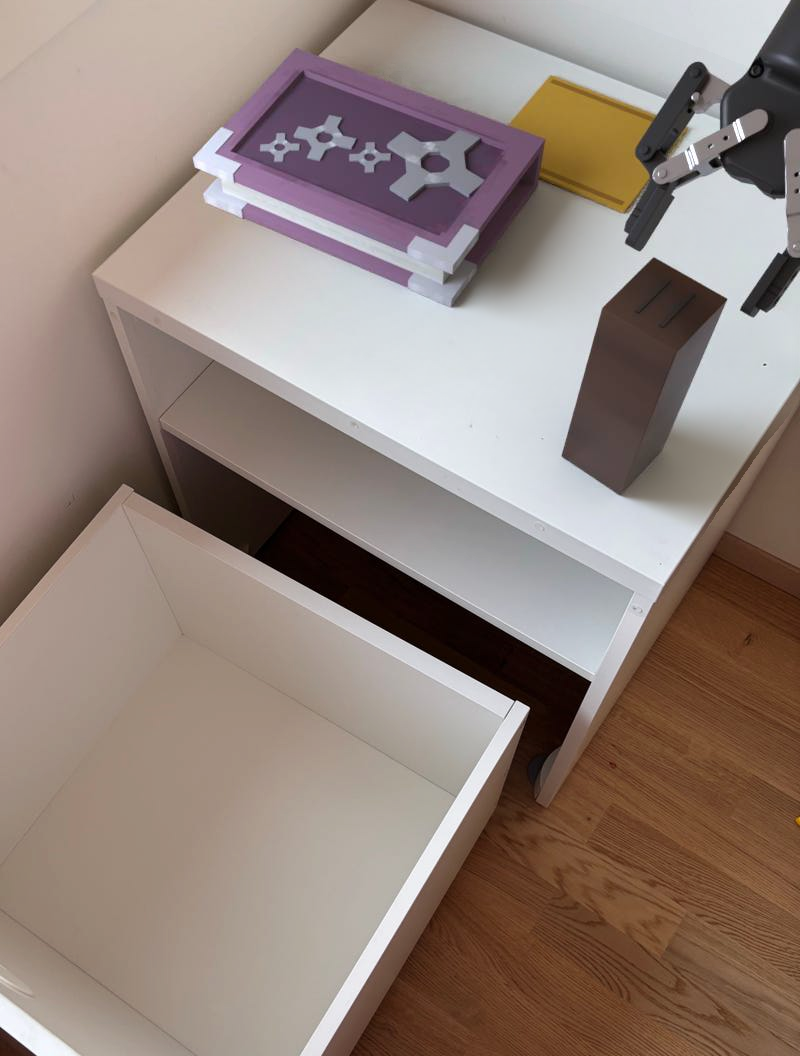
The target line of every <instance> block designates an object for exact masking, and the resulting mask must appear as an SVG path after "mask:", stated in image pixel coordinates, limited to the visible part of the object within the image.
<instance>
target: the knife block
mask: <svg viewBox="0 0 800 1056" xmlns="http://www.w3.org/2000/svg"><path fill="white" fill-rule="evenodd" d="M727 302H728V298H727V297H726V296H724V295H722V294H720V293H718V292H716V291H715V290H713V289H711V288H710V287H708V286H706V285H704V284H703V283H701V282H699V281H697V280H696V279H694V278H692V277H690V276H688V275H687V274H685V273H683V272H681V271H680V270H678V269H676V268H674V267H672V266H671V265H669V264H668V263H665V262H663V261H662V260H660V259H658V258H657V257H654V256H653V257H652V258H651V259H650V260H648V262H647V263H646V264H645V265H644V266H643V267H642V268H641V269H640V270H639V271H638V272H637V273H635V275H634V276H633V277H632V278H631V279H630V280H629V281H628V282H626V284H625V285H624V286H623V287H622V288H621V289H619V291H618V292H617V293H615V295H614V296H613V297H611V298H610V299H609V300H608V301H607V302H606V303H605V305H603V307H601V311H600V314H599V318H598V321H597V325H596V328H595V333H594V336H593V340H592V344H591V347H590V350H589V354H588V358H587V362H586V365H585V369H584V373H583V376H582V379H581V383H580V386H579V389H578V390H579V391H578V393H577V398H576V402H575V405H574V408H573V412H572V416H571V420H570V422H569V423H570V424H569V426H568V431H567V434H566V438H565V441H564V445H563V448H562V452H561V458H563V459H564V460H566V461H567V462H569V463H571V464H572V465H574V466H575V467H577V468H578V469H580V470H581V471H583V472H584V473H585V474H587V475H589V476H590V477H591V478H593V479H594V480H596V481H598V482H599V483H601V484H602V485H604V486H605V487H606V488H608V489H609V490H611V491H613V492H614V493H615V494H617V495H619V496H622V495H623V494H624V492H625V491H626V490H627V489H628V488H629V487H630V486H631V485H632V484H633V483H634V481H635V480H636V479H638V478H639V476H640V475H641V474H642V473H643V472H644V471H645V470H646V469H647V467H648V466H649V465H650V464H651V463H652V462H653V461H654V460H655V459H656V458H657V456H659V454H661V452H662V451H663V450H664V448H665V445H666V443H667V441H668V439H669V436H670V434H671V433H672V430H673V428H674V425H675V422H676V420H677V417H678V415H679V414H680V411H681V408H682V406H683V403H684V402H685V399H686V397H687V395H688V392H689V390H690V387H691V386H692V384H693V383H692V382H693V380H694V379H695V376H696V374H697V371H698V369H699V366H700V365H701V362H702V359H703V357H704V355H705V353H706V350H707V348H708V346H709V343H710V341H711V339H712V336H713V334H714V332H715V330H716V327H717V324H718V323H719V320H720V319H721V315H722V314H723V311H724V309H725V306H726V304H727Z"/></svg>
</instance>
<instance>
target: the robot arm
mask: <svg viewBox="0 0 800 1056" xmlns="http://www.w3.org/2000/svg"><path fill="white" fill-rule="evenodd" d="M716 104H719V130H717V131H715V132H713V133H711V134H709V135H707V136H706V137H703V138H702V139H700V140H698V141H696V142H694V143H692V144H690V146H688V147H687V148H686V150H684V151H683V152H681V153H679V154H677V155H675V156H673V157H671V158H668V156H667V154H668V153H669V151H670V150H671V148H672V147H673V145H674V144H675V142H676V141H677V140H678V138H679V137H680V135H681V134H682V132H683V131H684V129H685V128H686V127H688V125H689V123H690V122H691V120H692V118H693V117H694V116H695V114H696V115H702V114H704V113H706V112H707V111H709V109H710V108H711V107H713V106H714V105H716ZM655 115H656V117H655V118H654V120H653V122H652V123H651V125H650V126H649V128H648V129H647V131H646V132H645V134H644V135H643V137H642V138H641V140H640V141H639V143H638V145H637V146H636V148H635V156H636V158H637V159H638V160H639V161H640V162H641V163H642V164H643V166H644V167H645V168H646V170H647V171H648V173H649V176H650V180H649V181H648V183H647V185H646V188H645V190H644V191H643V193H642V194H641V196H640V197H639V199H638V201H637V202H636V204H635V206H634V208H633V209H632V211H631V213H630V214H629V216H628V218H627V219H626V220H625V223H624V229H623V232H624V233H626V234H627V236H626V238H625V240H624V244H625V246H628V247H630V248H631V249H632V250H635V251H637V252H639V253H640V252H641V251H643V249H644V248H645V247H646V245H647V244H648V242H649V240H650V239H651V237H652V235H653V234H654V232H655V231H656V229H657V227H658V226H659V224H660V223H661V221H662V219H663V218H664V215H665V214H666V213H667V211H668V209H669V208H670V207H671V205H672V203H673V201H674V199H675V198H676V197H675V195H673V193H674V191H676V190H678V189H680V188H682V187H683V186H686V185H687V184H690V183H692V182H694V181H696V180H698V179H699V178H703V177H707V176H710V175H712V174H714V173H716V172H718V171H720V170H722V169H723V170H724V171H725V172H726V174H727V175H728V176H729V177H730V178H732V179H734V180H735V181H738V182H740V183H742V184H747V185H753V186H755V187H756V188H757V189H758V190H759V191H760V192H761V193H762V194H763V195H764V196H765V197H768V198H770V199H771V200H774V201H776V199H778V200H783V199H785V200H784V201H785V216H786V217H785V218H786V248H785V249H784V250H783V251H782V253H780V252H777V253H776V255H775V256H774V257H773V258H772V260H771V262H770V264H769V265H768V266H767V268H766V269H765V271H764V272H763V274H761V276H760V278H759V279H758V281H757V282H756V284H755V285H754V287H753V288H752V290H751V292H750V293H749V294H748V296H747V297H746V298H745V300H744V301H743V303H742V305H741V306H740V307H739V311H740V312H742V313H743V314H745V315H747V316H749V317H751V318H753V319H754V318H755V317H756V316H757V315H758V314H759V312H760V311H762V312H764V313H766V314H767V313H769V312H770V311H771V310H773V309H774V308H775V307H776V306H777V305H778V303H779V302H780V300H781V299H782V297H783V296H784V294H785V293H786V291H787V290H788V288H789V287H790V286H791V284H792V283H793V282H794V280H795V278H796V277H797V276H798V274H799V273H800V0H789V2H788V4H787V5H786V7H785V9H784V10H783V11H782V13H781V15H780V17H779V18H778V20H777V21H776V23H775V25H774V27H773V28H772V29H771V31H770V33H769V35H768V36H767V38H766V39H765V41H764V43H763V44H762V46H761V48H760V49H759V51H758V53H757V54H756V55H755V57H754V59H753V61H752V63H751V64H750V66H749V67H748V69H747V71H746V72H745V74H743V75H742V76H741V77H740V78H739V79H738V80H737V81H736V82H734V83H733V84H730V83H728V82H727V81H724V80H723V79H721V78H720V77H718V76H716V75H715V74H713V73H711V72H710V70H709V69H708V68H707V66H706V65H705V64H704V62H702V61H694V62H692V63H690V64H689V65H688V66H687V68H686V70H685V71H684V72H683V74H682V76H681V77H680V79H679V80H678V82H677V83H676V85H675V86H674V87H673V89H672V90H671V92H670V94H669V95H668V97H667V98H666V100H665V101H664V103H663V105H662V106H661V108H660V109H659V111H658V113H656V114H655ZM671 151H672V150H671ZM669 154H670V153H669ZM669 154H668V155H669ZM666 156H667V157H666Z"/></svg>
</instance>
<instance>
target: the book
mask: <svg viewBox="0 0 800 1056" xmlns="http://www.w3.org/2000/svg"><path fill="white" fill-rule="evenodd" d="M544 145H545V139H544V138H542V137H539V136H536V135H533V134H531V133H528V132H525V131H522V130H520V129H517V128H514V127H511V126H509V124H505V123H503V122H500V121H497V120H494V119H492V118H489V117H488V116H487V117H486V116H483V115H481V114H478V113H476V112H474V111H471V110H467V109H464V108H462V107H459V106H456V105H454V104H451V103H448V102H445V101H442V100H440V99H438V98H435V97H432V96H429V95H426V94H423V93H421V92H418V91H415V90H412V89H410V88H407V87H405V86H402V85H399V84H396V83H395V82H394V83H393V82H391V81H389V80H388V81H387V80H385V79H382V78H380V77H376V76H374V75H372V74H369V73H366V72H364V71H361V70H357V69H355V68H353V67H349V66H347V65H344V64H342V63H338V62H336V61H333V60H330V59H328V58H326V57H322V56H319V55H316V54H313V53H312V52H308V51H307V50H303V49H300V48H297V47H295V48H294V49H293V50H292V51H291V52H290V54H288V56H287V57H286V58H284V60H283V61H282V62H281V64H280V65H278V67H277V68H275V69H274V71H273V72H271V74H270V75H269V77H267V78H266V80H265V81H264V82H263V83H262V85H261V86H259V87H258V88H257V90H255V92H254V93H253V94H252V95H251V96H250V97H249V99H247V100H246V102H245V103H244V104H243V105H242V106H241V107H240V109H238V111H237V112H236V113H235V114H233V116H232V117H231V118H230V119H229V120H228V122H227V123H226V124H225V125H224V126H220V127H219V128H218V130H217V131H216V132H215V133H214V134H213V135H212V136H211V137H210V138H209V140H207V142H206V143H205V144H204V145H203V146H202V147H201V148H200V149H199V151H197V153H196V154H195V155H194V156H193V157H192V160H193V164H194V165H193V166H194V168H195V169H198V170H200V171H203V172H205V173H208V174H210V175H212V176H214V177H217V178H215V180H213V182H212V183H211V184H210V185H209V186H208V187H207V188H206V190H205V191H204V192H203V193H202V195H203V201H204V203H206V204H208V205H211V206H213V207H215V208H216V209H220V210H222V211H223V212H226V213H229V214H232V215H233V216H236V217H239V218H240V219H246V220H249V221H250V222H251V221H252V222H253V223H257V224H258V225H261V226H263V227H265V228H267V229H270V230H272V231H275V232H277V233H279V234H281V235H284V236H286V237H289V238H291V239H293V240H296V241H298V242H300V243H303V244H305V245H307V246H310V247H312V248H314V249H317V250H319V251H322V252H324V253H326V254H328V255H330V256H332V257H336V258H338V259H341V260H342V261H344V262H346V263H347V262H348V263H350V264H352V265H355V266H356V267H359V268H361V269H364V270H365V271H369V272H370V273H373V274H375V275H378V276H380V277H382V278H385V279H386V280H387V279H388V280H390V281H391V282H394V283H397V284H399V285H401V286H404V287H406V288H407V289H408V290H410V291H411V292H415V293H416V294H419V295H422V296H424V297H425V298H429V299H431V300H433V301H436V302H438V303H440V304H442V305H444V306H447V307H449V308H452V307H453V306H454V304H455V302H456V301H457V300H458V299H459V297H460V296H461V294H462V293H463V292H464V290H465V289H466V287H467V286H468V285H469V283H470V282H471V281H472V279H473V277H474V276H475V275H476V273H477V271H478V269H479V268H480V267H481V265H482V264H483V263H484V261H485V259H486V258H487V257H488V256H489V254H490V253H491V252H492V251H493V249H494V247H495V246H496V244H497V243H498V242H499V240H500V239H501V237H502V236H503V234H504V233H505V232H506V231H507V229H509V226H510V225H511V224H512V223H513V221H514V220H515V218H516V217H517V215H518V214H519V213H520V211H521V210H522V208H524V206H525V205H526V203H527V202H528V200H529V199H530V198H531V196H532V194H534V192H535V191H536V189H537V188H538V186H539V181H540V178H539V175H540V169H541V163H542V157H543V151H544Z"/></svg>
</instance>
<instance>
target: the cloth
mask: <svg viewBox="0 0 800 1056" xmlns="http://www.w3.org/2000/svg"><path fill="white" fill-rule="evenodd" d="M656 115H657V114H653V113H651V112H650V111H649V112H648V111H646V110H643V109H641V108H638V107H637V106H632V105H630V104H628V103H626V102H623V101H620V100H617V99H616V98H612V97H610V96H607V95H604V94H601V93H599V92H596V91H593V90H592V89H589V88H586V87H583V86H581V85H579V84H575V83H573V82H570V81H568V80H566V79H562V78H560V77H557V76H555V75H552V74H550V75H549V76H548V77H547V79H546V80H545V81H544V82H543V83H542V84H541V86H540V87H539V88H537V90H536V92H534V94H533V95H532V96H531V97H530V98H529V100H528V101H527V102H526V103H525V104H524V105H523V107H522V108H521V109H520V110H519V112H518V113H517V114H516V115H515V116H514V117H513V118H512V120H511V121H510V122H508V125H509V126H511V127H514V128H517V129H520V130H522V131H525V132H528V133H531V134H533V135H536V136H539V137H542V138H544V139H545V145H544V151H543V157H542V163H541V169H540V175H539V180H543V181H544V182H547V183H549V184H552V185H554V186H557V187H559V188H562V189H564V190H566V191H569V192H571V193H573V194H576V195H578V196H581V197H583V198H586V199H588V200H590V201H593V202H595V203H597V204H600V205H602V206H604V207H608V208H609V209H612V210H614V211H617V212H619V213H621V214H625V213H626V212H627V210H628V209H629V208H630V206H631V205H632V204H633V202H634V201H635V200H636V198H637V197H638V196H639V195H640V193H641V192H642V191H643V189H644V188H645V187H646V186H647V185H648V183H649V180H650V176H649V173H648V171H647V170H646V168H645V167H644V166H643V164H642V163H641V162H640V161H639V160H638V159H637V158H636V156H635V148H636V146H637V145H638V143H639V141H640V140H641V138H642V137H643V135H644V134H645V132H646V131H647V129H648V128H649V126H650V125H651V123H652V122H653V120H654V118H655V117H656ZM687 131H688V126H686V128H685V129H684V131H683V132H682V134H681V135H680V137H679V138H678V140H677V141H676V142H675V144H674V145H673V147H672V148H671V150H670V151H669V153H668V154H667V156H666V157H667V158H668V156H669V155H670V153H671V152H672V151H673V149H674V148H675V147H676V145H677V143H678V142H680V140H681V139H682V138H683V136H684V135H685V133H686V132H687Z"/></svg>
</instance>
